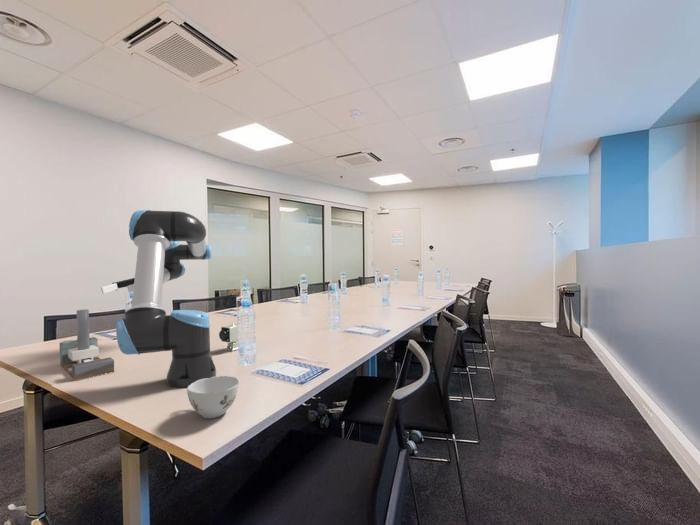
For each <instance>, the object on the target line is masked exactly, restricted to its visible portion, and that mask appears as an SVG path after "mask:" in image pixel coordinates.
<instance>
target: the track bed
mask: <svg viewBox="0 0 700 525" xmlns="http://www.w3.org/2000/svg"><path fill="white" fill-rule="evenodd" d="M89 345H90V346H91V345H95V346H96V347H98V338H97V337H93V336H92V337H89ZM75 346H77V339H71V340H63V341H60V342H59V366H60V367H61V368H62V369H63V370H64V371H65V372H66V373H67V374H68V375H69V377H71V378H72V379H73V380H74V381H75V382H76V381H81V379H82V380H84V379H85V378H86V379H89V377H90V378H94V377H98V376H97V375H99V376H102V375H101V374H103V375H106V374H105V373H107V374H110V372H112V373H114V372H115V359H113V358H112V357H111V356H110V357H105V358H100V356H96V357H93V361H92V360H90V359H89V358H86V359H81V363H79V364H78V363H77V362H76V361H72V360H71V359H70V358H69V357H68V349H73V348H75ZM98 348H99V347H98ZM93 376H94V377H93Z"/></svg>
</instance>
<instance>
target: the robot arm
mask: <svg viewBox="0 0 700 525" xmlns="http://www.w3.org/2000/svg"><path fill="white" fill-rule="evenodd" d="M128 228H129V229H128V235H129V238H130V240H131V241H132V242H133V243H134V245H135V246H136V247H137V255H136V261H135V262H136V263H135V272H134V277H133V278H129V279H124V280H120V281H116V282H112V283H110V284H109V285H104V286H101V287H100V289H101V290H100V291H101V293H102V294H103V295H104V294H107V293H110V292H113V291H118V290H119V289H122V288H127V291H128V293H132V300H131V307H130V308H128V309H126V311H125V312H124V317H121V318H119V319H117V321H116V326H115V327H116V328H115V331H116V334H115V335H116V341H117V345H118V348H119V349H120V352H121V353H122V354H124V355H129V356H130V355H141V354H142V355H143V354H152V353H158V352H161V353H162V352H168V351H170V352H171V353H172V355H171V356H172V357H171V361H170V362H171V363H170V364H169V368H168V372H167V373H166V384H167V386H169V387H175V388H185V387H188V386H189V385H191V384H192V383H194V382H196V381H198V380H201V379H205V378H208V379H209V378H211V377H216V376H217V369H216V365H215V364H214V361H213V358H212V357H213V356H212V355H211V335H210V334H211V333H210V332H211V330H210V328H211V324H210V323H211V322H210V316H209V314H208V313H207V312H206V311H202V310H194V309H175V310H172V311H171V312H170V315H169V314H168V315H167V311H166V310H165V309H164V308H163V307H162V303H163V302H162V301H163V287H164V286H163V285H164V284H165V283H166V282H170V281H173V280H176V279H178V278H180V277H182V276H184V275H185V273H186V267H185V265H184V264H183V263H181V261H180V260H182V261H183V260H187V261H189V260H190V261H191V260H199V261H200V260H210V259H211V258H212V246H211V245H210V244H206V236H207V229H206V226H205V225H204V224H203V222H202V221H201V220H200V219H199V218H197V217H196V216H194V215H192V214H190V213H187V212H185V211H174V210H170V211H169V210H166V211H165V210H150V209H143V210H141V209H140V210H136V211H135V212H133V213H132V215H131V217H130V220H129V225H128ZM180 242H186V244H180Z"/></svg>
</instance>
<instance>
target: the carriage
mask: <svg viewBox="0 0 700 525" xmlns="http://www.w3.org/2000/svg"><path fill="white" fill-rule="evenodd" d="M89 313H90V310H89V308H88V309H86V308H85V309H77V310H76V338H77V339H76V340H77V347H78V348H73V349H68V357H69V358H70V359H71V360H72V361H76V362H77V363H78V364H79V363H81V359H86V358H89V359H90V360H92V361H93V357H96V356H98V357H100V347H96V346H95V345H91V346H90V345H89V338H90V314H89Z"/></svg>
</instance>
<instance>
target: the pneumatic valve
mask: <svg viewBox="0 0 700 525" xmlns="http://www.w3.org/2000/svg"><path fill="white" fill-rule="evenodd" d="M238 324H239V323H234V322H232V323H231V324H230V325H226V326H221V328H220V331H219V333H218V336H219V339H220V340H221V342H225V343H227V346H226V350H227V351H231V352H235V351H237V349H238V342H239V340H238ZM238 350H239V349H238Z"/></svg>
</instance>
